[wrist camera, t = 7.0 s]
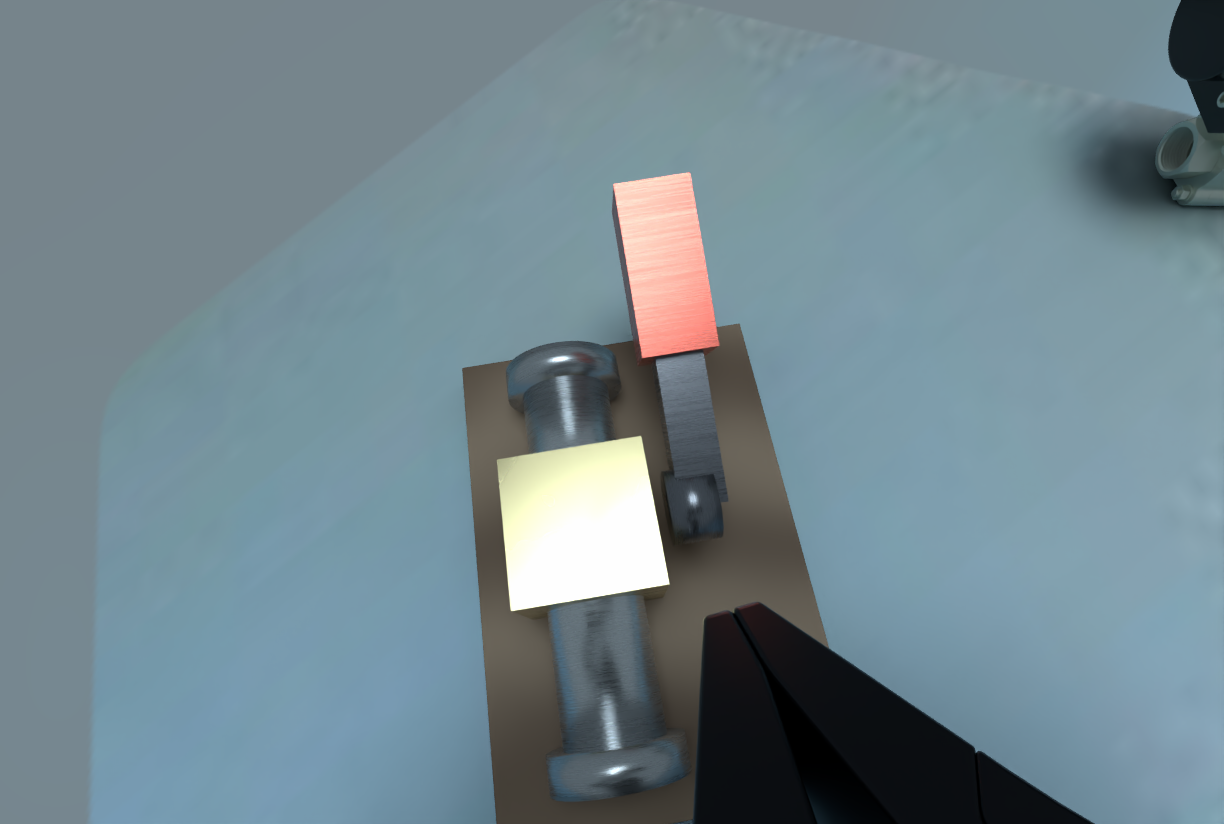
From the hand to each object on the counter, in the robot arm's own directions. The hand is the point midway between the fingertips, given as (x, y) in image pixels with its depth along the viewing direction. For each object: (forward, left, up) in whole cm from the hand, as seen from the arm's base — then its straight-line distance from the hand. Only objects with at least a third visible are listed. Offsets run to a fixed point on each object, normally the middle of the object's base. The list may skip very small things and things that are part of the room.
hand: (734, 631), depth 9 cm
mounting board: (+3, +1, -13) cm, 13 cm away
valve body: (+3, +2, -12) cm, 13 cm away
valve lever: (+3, -1, -9) cm, 9 cm away
